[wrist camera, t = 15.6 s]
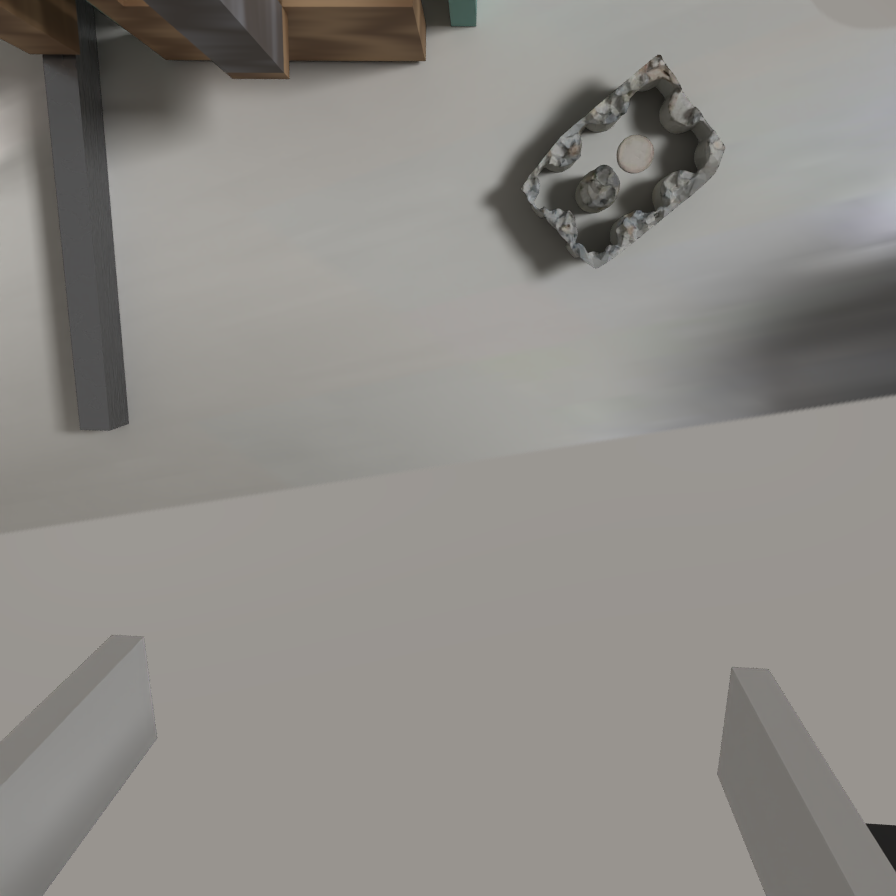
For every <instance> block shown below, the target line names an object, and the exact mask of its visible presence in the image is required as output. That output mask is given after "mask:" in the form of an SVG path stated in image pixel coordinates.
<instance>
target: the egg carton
mask: <svg viewBox="0 0 896 896" xmlns="http://www.w3.org/2000/svg"><path fill="white" fill-rule="evenodd" d="M653 87H657V88H658V89H659V91H660V92H661V93H662V95H663V96H664V98H665V101H664V103H663V104H662V106H661V108H660V112H659V118H660V122H661V124H662V126H663V127H664V128H665V129H666V130H667V131H669V132H671V133H673V134H681V133H684V132H686V131H688V130H692V131H693V132H694V134H695V135H696V137H697V138H698V140H699V144H698V146H697V148H696V150H695V154H694V161H695V165H696V166H697V172H696V173H691V172H688V171H685V170H678V171H675V172H672V173H670V174H669V175H667V176H666V177H665V178H663V179H662V180H660V181H659V182H658V183H657V184H656V186H655V188H654V189H653V193H652V202H653V205H654V208H655V211H654V212H653V211H651V212H649V213H645V212H642V211H641V210H635V211H633V212H631V213H629V214H626V215H624V216H622V217H621V218H620V219H619V220H617V221H616V222H615V223H614V224H613V226H612V228H611V231H610V240H611V243H612V245H608V246H607V247H606V249H605V251H604V252H602V253H600V252H588V253H587V251H586V249H585V247H584V246H583V245H582V244H580V243H576V242H575V241H576V238H577V236H578V231H577V229H576V224H575V217H574V215H573V214H572V213H571V212H570V211H569V210H568V211H562V210H561V209H554V210H552V211H549V210H548V209H547V208H545V207H543V208H541V209H540V210H539V209H538V208H537V207H536V206H535V204H534V201H535V199H536V197H537V195H538V193H539V189H540V183H539V179H538V178H537V176H538V174H539V173H540V172H541V170H542V169H544V168H547V169H548V170H550V171H553V172H563V171H565V170H567V169H569V168H570V167H571V166H572V165H573V164H574V163H575V161H576V160H577V159H578V158H579V157H580V156H581V155H580V152H581V148H582V141H581V137H580V134H581V133H582V131H583V130H584V129H585V128H588V129H589V130H591V131H593V132H603V131H607V130H608V129H610V128H611V127H612V126H613V125H614V124H615V123H616V122H617V120H618V119H619V118H620V117H621V116H622V115H624V114H625V113H626V112H627V109H628V106H629V100H630V98H631V97H632V96H633V95H634V94H635V93H636V92H637V91H640V92H642V91H647V90H649V89H652V88H653ZM724 150H725V146H724V144H723V143H722V141H721V140H720V138H719V137H718V135H717V133H716V132H715V131H714V130H713V129H712V128H711V127H710V126H709V124H708V123H707V122H706V120H705V119H704V117H703V116H702V113H701V112H700V111H699V110H698V108H696V107H694V106H693V105H692V103H691V102H690V101H689V99H688V98H687V97H686V95H685V94H684V93H683V92H682V88H681V86H680V84H679V82H678V80H677V78H676V77H675V76H674V74H673V73H672V72H671V70H670V69H669V68H668V67H667V65H666V64H665V62H664V61H663V59H662V56H661V55H657V56H656V57H654V58H653V59H652V60H650V61H649V62H648V63H647V64H646V65H644V66H643V67H642V68H641V69H640V70H639V71H637V72H636V73H635V74H634V75H633V76H631V77H630V78H629V79H628V80H627V81H626V82H624V83H623V84H622V85H621V86H620V87H619V88H618V89H616V90H615V91H614V92H613V93H612V94H610V95H609V96H608V97H607V98H605V99H604V100H603V101H602V102H601V103H600V104H598V105H597V106H596V107H595V108H594V109H593V110H591V111H590V112H589V113H588V114H587V115H586V116H585V117H583V118H582V119H581V120H580V121H578V122H577V123H576V124H575V125H574V126H572V127H571V128H570V129H569V130H568V131H567V132H566V133H565V134H563V135H562V136H561V137H560V138H559V140H558V141H557V142H556V143H555V145H554V146H553V147H552V148H551V149H550V151H549V152H548V153H547V154H546V155H545V157H544V158H543V159H542V161H541V162H540V163H539V165H538V166H537V167H536V169H535V170H534V171H533V172H532V173H531V174H530V175H529V177H528V179H527V181H526V182H525V183H524V185H523V186H522V187H521V190H522V191H524V193H525V194H526V196H527V199H528V201H529V202H530V203H531V204H532V206H531V208H532V209H533V210H534V212H535V213H536V214H537V215H538V216H539V217H540V218H543V217H544V216H545V217H546V219H547V221H548V222H549V224H550V225H551V226H553V227H554V228H555V229H557V231H558V232H559V234H560V235H561V236H562V237H563V238H564V239H565V240H566V241H567V242H568V243H567V245H566V248H567V250H568V251H569V252H570V253H571V254H572V256H573V257H575V258H577V257H580V258H581V259H583V260H584V261H585V262H586V263H588V264H589V265H591V266H592V267H593V268H599V267H600V266H602V265H604V264H605V263H607V262H608V261H610V260H611V259H612V258H614V257H615V256H617V255H618V254H619V253H620V252H622V251H623V250H624V249H625V248H627V247H628V246H629V245H630V244H632V243H633V242H634V241H636V240H637V239H638V238H639V237H640V236H642V235H643V234H644V233H645V232H646V231H648V230H649V229H650V228H652V227H653V226H655V225H656V224H657V223H658V222H659V221H660V220H662V219H663V218H664V217H665V216H666V215H668V214H669V213H670V212H671V211H673V210H674V209H675V208H676V207H677V206H679V205H680V204H681V203H682V202H684V201H685V200H686V199H688V198H689V197H690V196H691V195H692V194H693V193H695V192H696V191H697V190H698V189H699V188H700V187H701V186H703V185H704V184H705V183H706V182H707V181H708V180H709V179H710V178H711V177H712V176H713V175H714V174H715V172H716V170H717V169H718V167H719V164H720V161H721V158H722V156H723V153H724ZM653 157H654V148H653V145H652V143H651V142H650V140H649V139H648V138H646V137H643V136H641V135H631V136H629V137H627V138H626V139H624V140H623V142H622V143H621V144H620V146H619V148H618V152H617V160H618V163H619V165H620V167H621V168H622V169H623V170H624V171H626V172H629V173H639V172H641V171H644V170H645V169H647V168H648V167H649V166H650V164H651V163H652V160H653ZM619 187H620V181H619V178H618V176H617V175H616V174H615V172H614V171H613V169H612V168H611V167H610V166H607V165H601V166H599V167H597V168H596V169H595V170H593V171H590V172H589V173H588V174H587V175H585V176H584V178H583V179H582V180H581V181H580V183H579V184H578V186H577V189H576V192H575V198H576V200H575V201H576V202H577V204H578V206H579V207H580V208H581V209H582V210H584V211H586V212H589V213H598V212H600V211H602V210H604V209H605V208H608V207H609V206H610V205H611V204H612V203H613V202H614V201H615V199H616V198H617V195H618V192H619ZM573 198H574V197H573Z"/></svg>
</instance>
